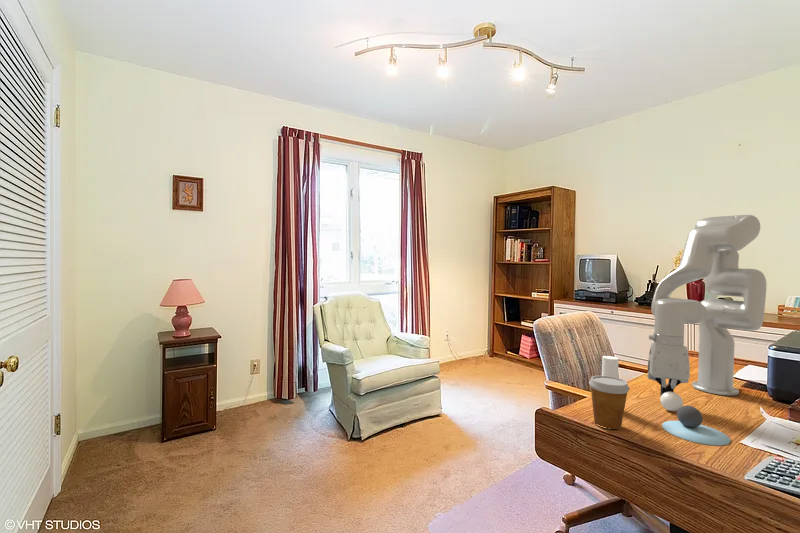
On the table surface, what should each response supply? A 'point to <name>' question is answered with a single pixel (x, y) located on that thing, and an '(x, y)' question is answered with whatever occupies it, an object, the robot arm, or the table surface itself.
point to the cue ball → (671, 401)
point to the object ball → (689, 416)
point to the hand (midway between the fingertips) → (666, 399)
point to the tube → (610, 366)
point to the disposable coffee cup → (608, 400)
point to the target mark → (696, 433)
